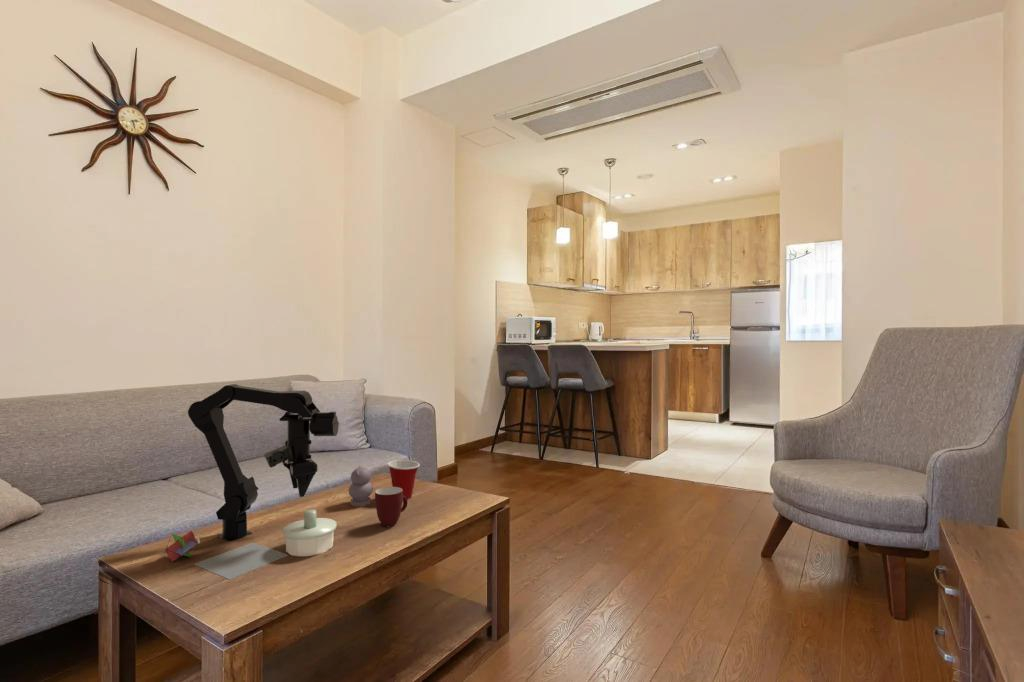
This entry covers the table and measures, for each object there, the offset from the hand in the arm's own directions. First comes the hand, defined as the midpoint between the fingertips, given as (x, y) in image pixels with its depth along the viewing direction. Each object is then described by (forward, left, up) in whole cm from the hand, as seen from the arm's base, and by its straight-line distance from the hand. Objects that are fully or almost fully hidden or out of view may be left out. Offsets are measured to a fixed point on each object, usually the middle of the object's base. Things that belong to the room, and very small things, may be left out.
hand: (298, 492), depth 141 cm
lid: (+11, -4, -7) cm, 14 cm away
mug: (+16, +20, -12) cm, 28 cm away
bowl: (+11, -4, -12) cm, 17 cm away
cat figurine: (-6, +28, -12) cm, 31 cm away
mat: (+3, -18, -12) cm, 22 cm away
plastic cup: (+2, +40, -12) cm, 42 cm away
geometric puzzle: (-11, -25, -12) cm, 30 cm away
